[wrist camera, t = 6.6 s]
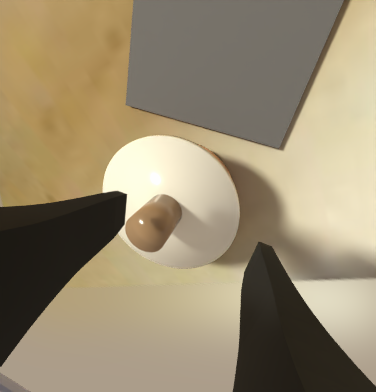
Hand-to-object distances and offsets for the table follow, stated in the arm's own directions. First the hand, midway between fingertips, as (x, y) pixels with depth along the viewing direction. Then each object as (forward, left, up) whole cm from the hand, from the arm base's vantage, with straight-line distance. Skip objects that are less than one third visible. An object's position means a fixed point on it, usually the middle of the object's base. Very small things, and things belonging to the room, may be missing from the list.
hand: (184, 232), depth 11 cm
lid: (+3, +3, -6) cm, 7 cm away
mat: (+3, -11, -10) cm, 15 cm away
